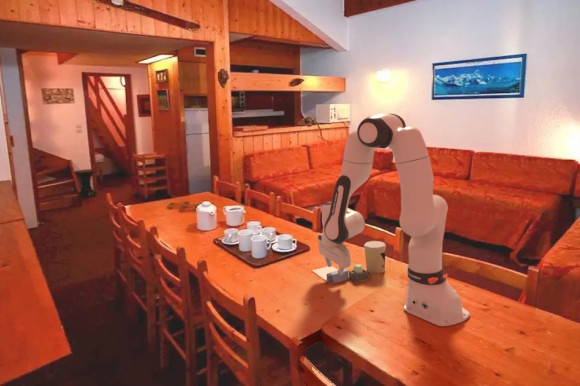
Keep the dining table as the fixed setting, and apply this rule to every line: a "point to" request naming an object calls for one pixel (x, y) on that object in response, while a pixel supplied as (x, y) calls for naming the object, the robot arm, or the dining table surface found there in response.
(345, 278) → the grey rectangular block
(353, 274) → the button housing
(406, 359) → the dining table surface
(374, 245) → the coffee cup
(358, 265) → the button
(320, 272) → the paper
